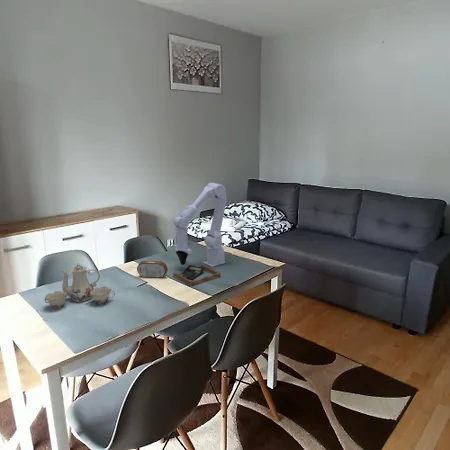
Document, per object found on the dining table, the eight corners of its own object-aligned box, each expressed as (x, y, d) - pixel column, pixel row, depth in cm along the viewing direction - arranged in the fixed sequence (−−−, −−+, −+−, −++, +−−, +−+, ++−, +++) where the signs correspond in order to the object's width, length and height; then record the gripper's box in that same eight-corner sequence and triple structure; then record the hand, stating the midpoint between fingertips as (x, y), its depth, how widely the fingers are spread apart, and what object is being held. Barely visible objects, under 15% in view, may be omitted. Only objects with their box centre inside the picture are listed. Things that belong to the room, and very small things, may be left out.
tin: (168, 276, 185) (167, 260, 183) (166, 278, 182) (165, 262, 180) (138, 275, 187) (137, 259, 185) (136, 277, 184) (135, 262, 181)
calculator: (176, 277, 184) (176, 271, 184) (189, 270, 194) (189, 264, 194) (192, 280, 180) (192, 275, 179) (204, 273, 190) (204, 267, 189)
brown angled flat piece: (202, 268, 196) (201, 264, 195) (220, 276, 184) (220, 272, 184) (173, 276, 185) (173, 273, 184) (191, 286, 173) (190, 282, 173)
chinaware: (43, 317, 148) (37, 281, 143) (48, 297, 163) (42, 263, 157) (116, 307, 157) (113, 272, 151) (113, 288, 172) (111, 255, 166)
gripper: (167, 237, 192) (169, 262, 196) (183, 244, 181) (184, 269, 185) (179, 235, 197) (180, 259, 200) (195, 241, 186) (196, 266, 189)
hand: (183, 264), depth 193 cm, fingers closed
